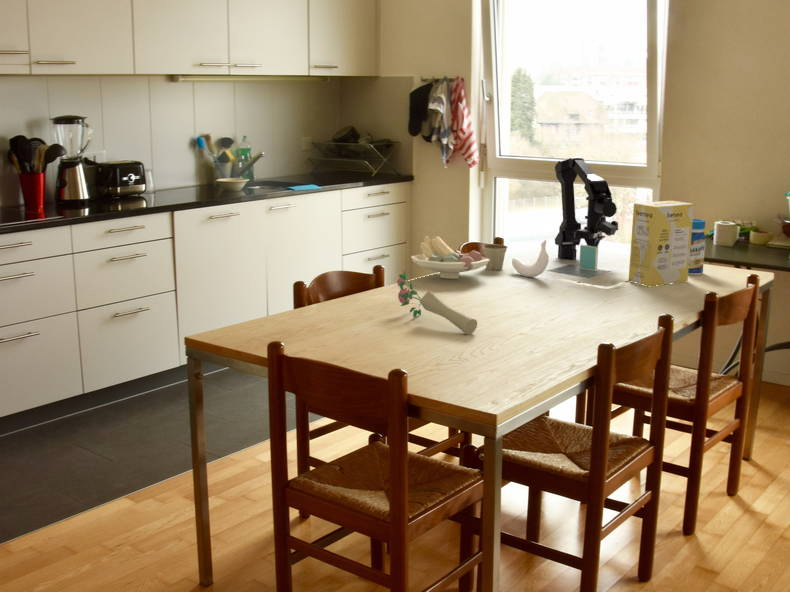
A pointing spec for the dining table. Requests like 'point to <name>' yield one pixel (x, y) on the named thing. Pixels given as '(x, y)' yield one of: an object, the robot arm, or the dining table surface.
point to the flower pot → (495, 256)
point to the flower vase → (436, 307)
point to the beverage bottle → (697, 248)
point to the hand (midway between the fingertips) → (592, 254)
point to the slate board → (577, 271)
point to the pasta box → (661, 242)
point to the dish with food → (447, 259)
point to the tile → (588, 257)
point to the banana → (534, 268)
